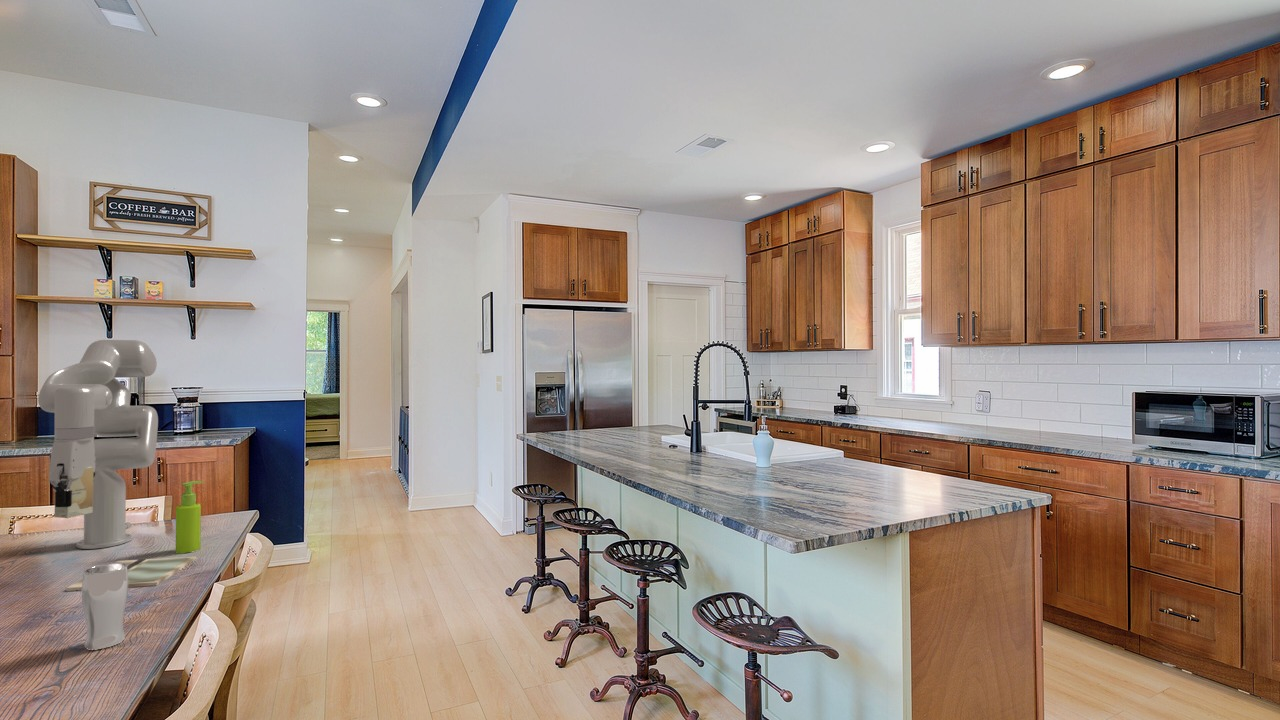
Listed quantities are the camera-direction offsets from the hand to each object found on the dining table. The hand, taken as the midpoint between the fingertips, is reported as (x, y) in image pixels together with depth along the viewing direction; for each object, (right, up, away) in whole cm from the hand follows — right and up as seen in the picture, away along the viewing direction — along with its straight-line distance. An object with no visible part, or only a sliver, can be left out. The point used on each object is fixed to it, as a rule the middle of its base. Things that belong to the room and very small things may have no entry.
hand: (74, 502), depth 157 cm
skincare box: (0, -4, 0) cm, 4 cm away
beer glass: (+40, -20, -36) cm, 57 cm away
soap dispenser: (+13, -19, +22) cm, 32 cm away
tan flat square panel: (+14, -19, +2) cm, 24 cm away
